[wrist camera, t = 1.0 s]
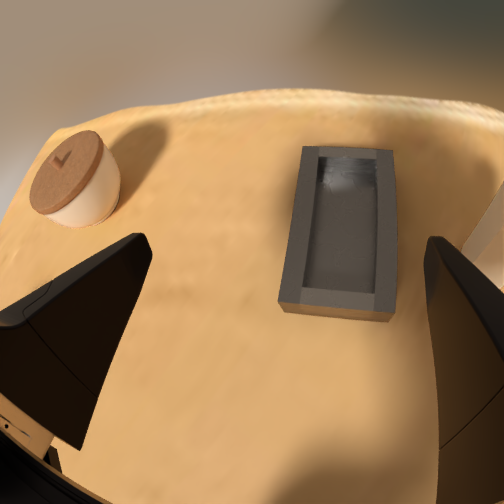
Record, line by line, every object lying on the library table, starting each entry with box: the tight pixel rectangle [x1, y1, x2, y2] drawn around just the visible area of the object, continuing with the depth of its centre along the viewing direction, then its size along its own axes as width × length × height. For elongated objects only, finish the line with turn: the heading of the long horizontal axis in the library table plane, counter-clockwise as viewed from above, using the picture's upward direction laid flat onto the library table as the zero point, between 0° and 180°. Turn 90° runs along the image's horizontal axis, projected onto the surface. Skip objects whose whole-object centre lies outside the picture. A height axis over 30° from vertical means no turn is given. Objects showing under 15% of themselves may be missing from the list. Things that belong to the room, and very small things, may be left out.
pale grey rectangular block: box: [461, 182, 504, 289], centre depth 16 cm, size 4×3×10 cm
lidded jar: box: [30, 130, 121, 229], centre depth 31 cm, size 11×11×9 cm
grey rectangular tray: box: [278, 146, 397, 322], centre depth 24 cm, size 14×8×3 cm, turn 168°
